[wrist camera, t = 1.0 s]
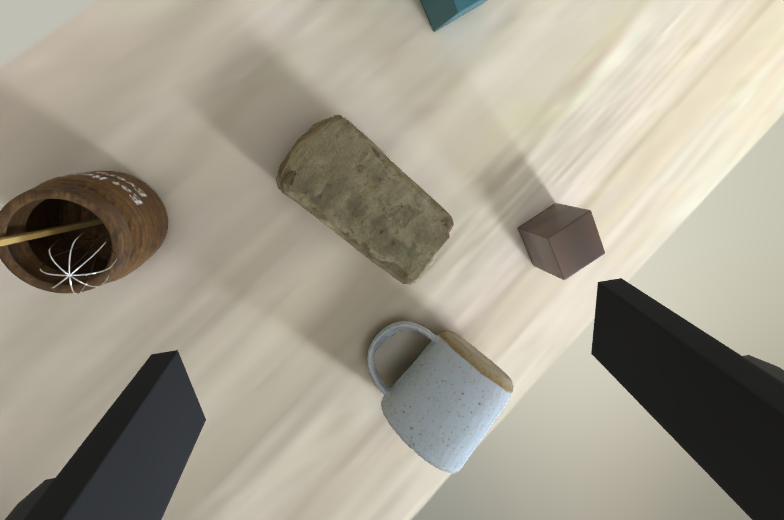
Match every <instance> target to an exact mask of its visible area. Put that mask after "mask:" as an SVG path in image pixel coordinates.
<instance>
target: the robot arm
mask: <svg viewBox="0 0 784 520" xmlns="http://www.w3.org/2000/svg"><path fill="white" fill-rule="evenodd" d="M594 321H595V322H594V331H593V343H592V355H593V356H594V357H595V358H596V359H597V360H598V361H599V362H600V363H601V364H602V365H603V366H604V367H605V368H606V369H607V370H608V371H609V372H610V373H611V374H612V375H613V376H614V377H615V378H616V379H617V381H618V382H619V383H620V384H621V385H622V386H623V387H624V388H625V389H626V390H627V391H628V392H629V393H630V394H631V395H632V396H633V397H634V398H635V399H636V400H637V401H638V402H639V403H640V404H641V405H642V406H643V407H644V408H645V409H646V410H647V411H648V412H649V414H650V415H651V416H652V417H653V418H654V419H655V420H656V421H657V422H658V423H659V424H660V425H661V426H662V427H663V428H664V429H665V430H666V431H667V432H668V433H669V434H670V435H671V436H672V437H673V438H674V439H675V440H676V441H677V442H678V443H679V445H680V446H681V447H682V448H683V449H684V450H685V451H686V452H687V453H688V454H689V455H690V456H691V457H692V458H693V459H694V460H695V461H696V462H697V463H698V464H699V465H700V466H701V467H702V468H703V469H704V470H705V471H706V472H707V473H708V474H709V475H710V477H711V478H712V479H713V480H714V481H715V482H716V483H717V484H718V485H719V486H720V487H721V488H722V489H723V490H724V491H725V492H726V493H727V494H728V495H729V496H730V497H731V498H732V499H733V500H734V501H735V502H736V503H737V504H738V505H739V506H740V508H742V510H743V511H744V512H745V513H746V514H747V515H748V516H749V517H750V518H751V519H752V520H784V370H782V369H781V368H779V367H777V366H775V365H772V364H770V363H767V362H765V361H762V360H760V359H757V358H755V357H752V356H750V355H746V356H741V355H739V354H738V353H736V352H735V351H733V350H731V349H730V348H728V347H727V346H725V345H724V344H722V343H721V342H719V341H718V340H716V339H715V338H713V337H711V336H710V335H708V334H706V333H705V332H704V331H702V330H700V329H699V328H697V327H696V326H694V325H693V324H691V323H690V322H688V321H687V320H685V319H683V318H682V317H680V316H679V315H677V314H676V313H674V312H673V311H671V310H670V309H668V308H666V307H665V306H663V305H662V304H660V303H658V302H657V301H656V300H654V299H652V298H651V297H649V296H648V295H646V294H645V293H643V292H641V291H640V290H638V289H637V288H635V287H634V286H632V285H631V284H629V283H628V282H626V281H625V280H623V279H621V278H620V279H614V280H608V281H602V282H598V288H597V299H596V310H595V320H594ZM205 421H206V419H205V416H204V414H203V411H202V409H201V406H200V404H199V402H198V399H197V397H196V394H195V392H194V389H193V387H192V384H191V382H190V379H189V377H188V375H187V372H186V370H185V367H184V365H183V362H182V360H181V357H180V355H179V352H178V350H176V351H170V352H164V353H158V354H152V355H151V356H150V357H149V359H148V360H147V361H146V362H145V364H144V365H143V366H142V368H141V369H140V370H139V371H138V373H137V374H136V375H135V377H134V378H133V379H132V380H131V382H130V383H129V384H128V386H127V387H126V388H125V389H124V391H123V392H122V393H121V395H120V396H119V397H118V398H117V400H116V401H115V402H114V404H113V405H112V406H111V407H110V409H109V410H108V411H107V413H106V414H105V415H104V416H103V418H102V419H101V420H100V422H99V423H98V424H97V425H96V427H95V428H94V429H93V431H92V432H91V433H90V434H89V436H88V437H87V438H86V440H85V441H84V442H83V443H82V445H81V446H80V447H79V449H78V450H77V451H76V452H75V454H74V455H73V456H72V458H71V459H70V460H69V461H68V463H67V464H66V465H65V467H64V468H63V469H62V470H61V472H60V473H59V474H58V476H57V477H56V478H53V479H48V480H45V481H44V482H43V483H42V484H40V485H39V486H38V487H37V488H36V489H35V490H33V491H32V492H31V493H30V494H29V495H28V496H26V497H25V498H24V499H23V500H22V501H21V502H19V503H18V504H17V506H16V507H15V508H14V509H13V510H12V512H11V513H10V514H9V515H8V517H7V518H6V519H5V520H161V519H162V517H163V515H164V512H165V510H166V508H167V506H168V503H169V501H170V499H171V497H172V494H173V492H174V490H175V488H176V485H177V483H178V481H179V479H180V477H181V474H182V472H183V470H184V468H185V465H186V463H187V461H188V459H189V456H190V454H191V452H192V450H193V447H194V445H195V443H196V441H197V439H198V436H199V434H200V432H201V430H202V427H203V425H204V423H205Z"/></svg>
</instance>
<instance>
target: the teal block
mask: <svg viewBox="0 0 784 520" xmlns="http://www.w3.org/2000/svg"><path fill="white" fill-rule="evenodd" d="M485 1H487V0H421V3H422V5H423V7H424V10H425V12H426V14H427V17H428V19H429V21H430V24H431V26H432V28H433V31H434V32H435V31H436V30H438V29H440V28H442V27H443V26H445V25H447V24H448V23H450V22H452V21H454V20H455V19H457V18H459V17H460V16H462V15H464V14H465V13H467V12H469V11H471V10H472V9H474V8H476V7H477V6H479V5H481V4H482V3H484V2H485Z"/></svg>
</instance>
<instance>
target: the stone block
mask: <svg viewBox="0 0 784 520" xmlns="http://www.w3.org/2000/svg"><path fill="white" fill-rule="evenodd" d="M276 180H277V185H278V187H279V189H280V190H281V191H282V192H283V193H284V194H286V195H287V196H289V197H290V198H291V199H293V200H294V201H296V202H297V203H298V204H300V205H301V206H302V207H304V208H305V209H306V210H308V211H309V212H310V213H311V214H313V215H314V216H315V217H316V218H317V219H319V220H320V221H322V222H323V223H324V224H326V225H327V226H328V227H330V228H331V229H332V230H334V231H335V232H336V233H337V234H338V235H340V236H341V237H342V238H343V239H345V240H346V241H347V242H348V243H350V244H351V245H352V246H353V247H354V248H356V249H357V250H358V251H360V252H361V253H362V254H363V255H365V256H366V257H367V258H369V259H370V260H371V261H372V262H374V263H375V264H376V265H378V266H379V267H381V268H382V269H384V270H385V271H386V272H388V273H389V274H390V275H391V276H393V277H394V278H395V279H397V280H398V281H400V282H401V283H403V284H411V283H414V282H416V281H417V280H418V279H419V278H420V277H421V276H422V275H423V274H424V272H425V271H426V269H427V268H428V267H429V266H430V265H431V264H432V263H433V262H434V260H435V258H436V256H437V255H438V253H439V252H440V251H441V250H442V249H443V247H444V245H445V244H446V242H447V241H448V239H449V232H450V230H451V229H452V227H453V219H452V217H451V216H450V215H449V214H448V213H447V212H446V211H445V210H444V209H443V208H442V207H441V206H440V205H439V204H438V203H437V202H436V201H435V200H434V199H432V198H431V197H430V196H429V195H428V194H427V193H426V192H425V191H424V190H423V189H422V188H420V187H419V186H418V185H417V184H416V183H415V182H414V181H413V180H412V179H410V178H409V177H408V176H407V175H406V174H405V173H404V172H403V171H401V170H400V169H399V168H398V167H397V166H396V165H395V164H394V163H393V162H392V161H390V160H389V159H388V158H387V156H386V155H385V154H384V153H383V152H382V151H381V150H380V149H379V148H378V147H377V146H376V145H375V144H374V143H373V142H372V141H371V140H370V139H369V138H368V137H366V136H365V135H364V134H363V133H361V132H360V131H359V130H358V129H357V128H356V127H355V126H354V125H353V124H352V123H350V122H349V121H348V120H346V119H344V118H343V117H342V116H340V115H335V116H333V117H330V118H329V119H326V120H323V121H321V122H318V123H316V124H314V125H313V126H312V127H311V128H310V130H309V131H308V132H307V133H306V134H304V135H303V136H302V137H301V138H299V140H298V141H297V142H296V144H295V145H294V147H293V148H292V150H291V151H290V152H289V154H288V155H287V157H286V158H285V160H284V161H283V162H282V164H281V165H280V168H279V171H278V176H277V178H276Z"/></svg>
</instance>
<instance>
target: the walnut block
mask: <svg viewBox="0 0 784 520" xmlns="http://www.w3.org/2000/svg"><path fill="white" fill-rule="evenodd" d="M518 230H519V232H520V234H521V237H522V239H523V241H524V244H525V246H526V248H527V251H528V253H529V255H530V258H531V260H532V262H533V265H534V266H535V267H537V268H540V269H542V270H544V271H546V272H548V273H550V274H552V275H554V276H556V277H559V278H561V279H563V280H566V279H567V278H569V277H570V276H572V275H573V274H575V273H576V272H578V271H579V270H581V269H582V268H584V267H585V266H587V265H588V264H590V263H591V262H593V261H594V260H596V259H597V258H599V257H600V256H602V255H603V254H605V251H604V248H603V245H602V242H601V239H600V236H599V233H598V230H597V227H596V224H595V221H594V218H593V215H592V212H591V211H590V210H587V209H582V208H577V207H572V206H567V205H562V204H558V203H556V204H554V205H553V206H551V207H550V208H548V209H546V210H545V211H543V212H542V213H540V214H539V215H537V216H536V217H534V218H533V219H531V220H529V221H528V222H526V223H525V224H523V225H522V226H520V227H519V228H518Z"/></svg>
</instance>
